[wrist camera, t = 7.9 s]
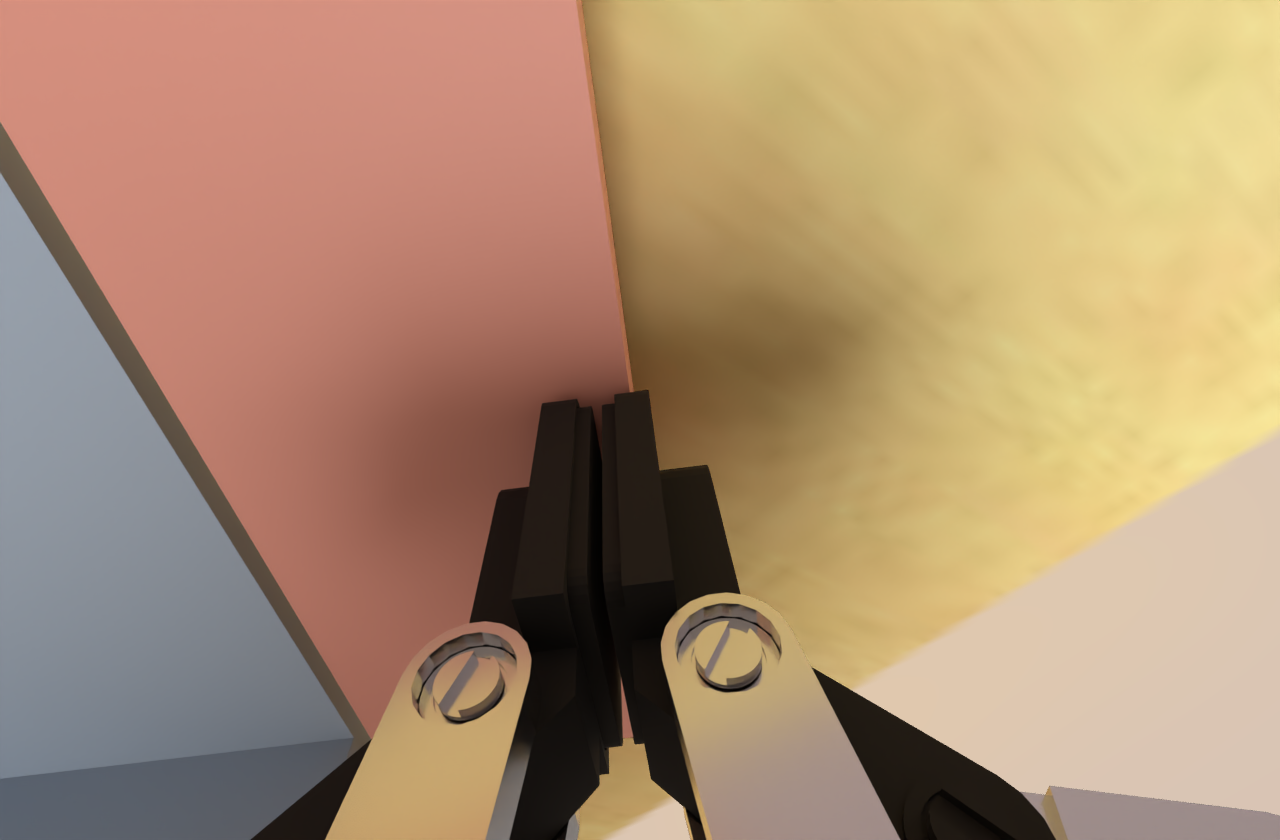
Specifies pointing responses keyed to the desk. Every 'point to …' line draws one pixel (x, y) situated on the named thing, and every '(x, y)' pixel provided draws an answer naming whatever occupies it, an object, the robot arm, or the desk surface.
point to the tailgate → (340, 269)
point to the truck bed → (130, 587)
